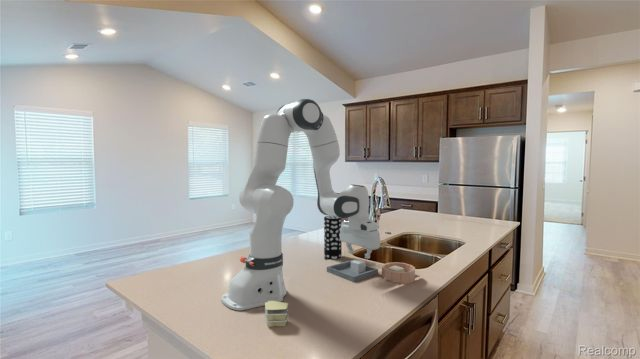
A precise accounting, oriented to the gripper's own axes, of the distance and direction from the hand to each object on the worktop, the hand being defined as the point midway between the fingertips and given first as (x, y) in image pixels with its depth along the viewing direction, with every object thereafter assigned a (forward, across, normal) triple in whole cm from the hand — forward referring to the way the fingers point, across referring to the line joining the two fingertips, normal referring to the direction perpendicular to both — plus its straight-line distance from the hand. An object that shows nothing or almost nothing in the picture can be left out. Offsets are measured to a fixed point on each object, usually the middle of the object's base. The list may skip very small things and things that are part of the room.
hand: (359, 255), depth 139 cm
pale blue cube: (+6, 0, -1) cm, 6 cm away
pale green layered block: (+7, +14, -50) cm, 52 cm away
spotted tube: (+8, -22, +5) cm, 24 cm away
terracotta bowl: (+7, +15, +7) cm, 18 cm away
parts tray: (+7, 0, -4) cm, 8 cm away
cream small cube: (+7, +15, +5) cm, 17 cm away
